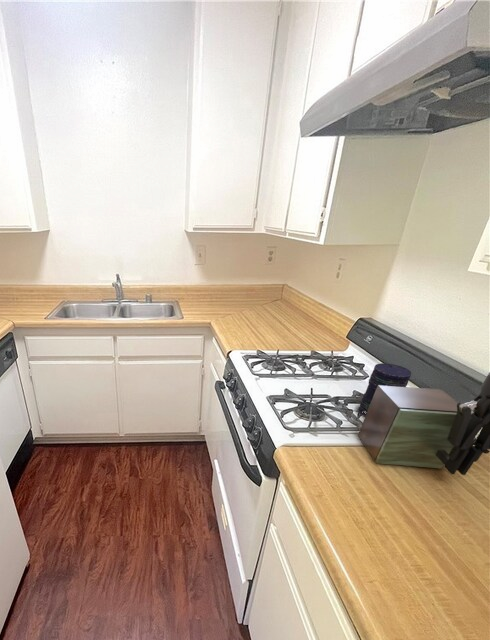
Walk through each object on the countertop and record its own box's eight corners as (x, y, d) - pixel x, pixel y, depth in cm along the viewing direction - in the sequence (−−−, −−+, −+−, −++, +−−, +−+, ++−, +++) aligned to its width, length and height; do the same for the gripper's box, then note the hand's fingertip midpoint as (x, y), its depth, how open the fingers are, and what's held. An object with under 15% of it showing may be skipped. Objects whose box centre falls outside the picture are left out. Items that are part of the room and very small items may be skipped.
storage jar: (395, 423, 105) (416, 378, 97) (360, 418, 107) (378, 373, 99) (387, 408, 113) (407, 365, 105) (355, 403, 115) (371, 361, 107)
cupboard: (438, 465, 88) (470, 412, 79) (374, 460, 89) (399, 407, 80) (414, 439, 98) (441, 389, 89) (357, 435, 99) (377, 385, 90)
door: (456, 485, 82) (492, 430, 73) (387, 479, 83) (415, 425, 74) (439, 466, 88) (470, 413, 79) (375, 461, 89) (399, 408, 80)
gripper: (539, 371, 69) (477, 463, 82) (462, 366, 70) (413, 458, 83) (572, 387, 63) (499, 484, 76) (487, 381, 64) (429, 478, 77)
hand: (454, 470), depth 79 cm, fingers closed on door, 2 cm apart
